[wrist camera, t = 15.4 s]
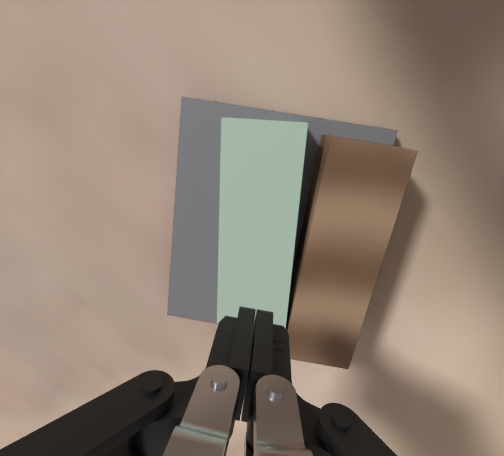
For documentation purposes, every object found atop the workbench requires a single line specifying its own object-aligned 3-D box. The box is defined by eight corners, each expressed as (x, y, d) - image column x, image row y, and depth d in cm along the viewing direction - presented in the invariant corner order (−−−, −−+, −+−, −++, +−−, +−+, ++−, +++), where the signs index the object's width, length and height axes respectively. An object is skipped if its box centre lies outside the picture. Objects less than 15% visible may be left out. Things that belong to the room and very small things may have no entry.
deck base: (185, 97, 23) (181, 96, 22) (392, 130, 22) (397, 130, 21) (170, 308, 29) (167, 314, 28) (333, 336, 28) (335, 343, 27)
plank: (230, 117, 22) (221, 117, 18) (302, 121, 22) (308, 122, 18) (224, 312, 27) (216, 344, 23) (282, 318, 27) (283, 350, 23)
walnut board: (321, 134, 22) (331, 137, 18) (393, 145, 22) (417, 151, 18) (281, 324, 27) (281, 357, 23) (338, 334, 27) (348, 369, 23)
